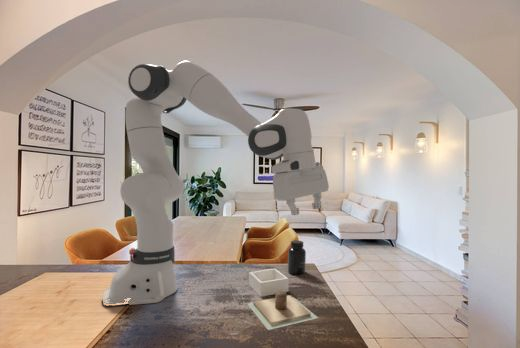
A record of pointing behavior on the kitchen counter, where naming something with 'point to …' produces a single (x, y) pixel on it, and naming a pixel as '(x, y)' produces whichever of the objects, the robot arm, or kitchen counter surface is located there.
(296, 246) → the supplement bottle
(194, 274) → the kitchen counter surface
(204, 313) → the kitchen counter surface
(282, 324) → the sage mat
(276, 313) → the oak lid
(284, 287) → the white open box
